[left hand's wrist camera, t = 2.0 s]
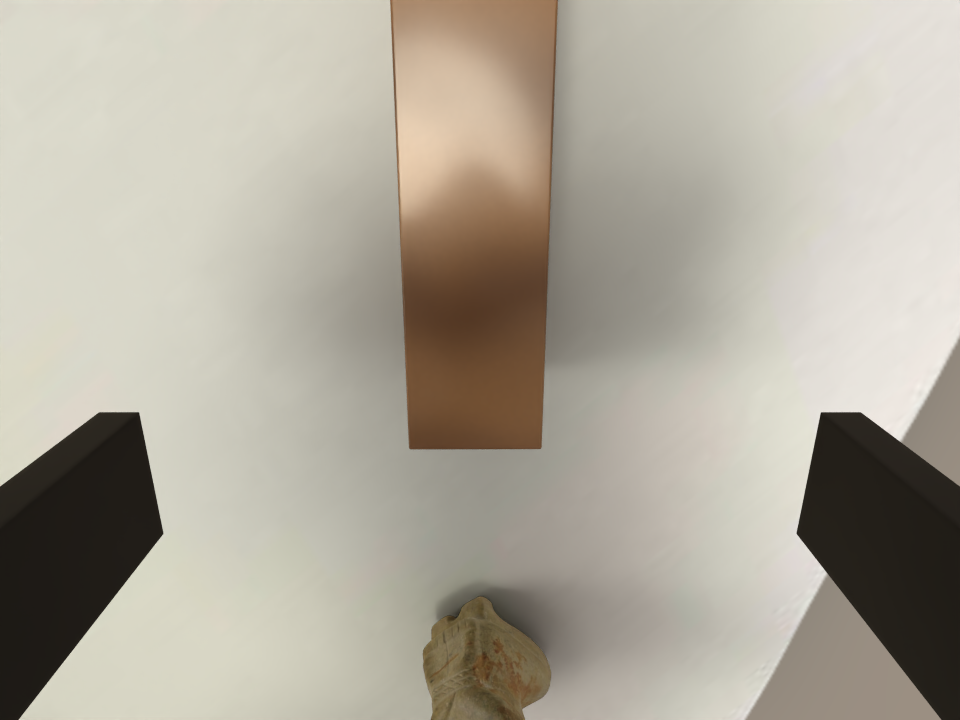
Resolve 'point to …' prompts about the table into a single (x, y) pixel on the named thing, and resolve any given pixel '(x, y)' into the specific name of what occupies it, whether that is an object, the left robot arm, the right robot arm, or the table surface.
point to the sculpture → (482, 667)
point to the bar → (474, 215)
